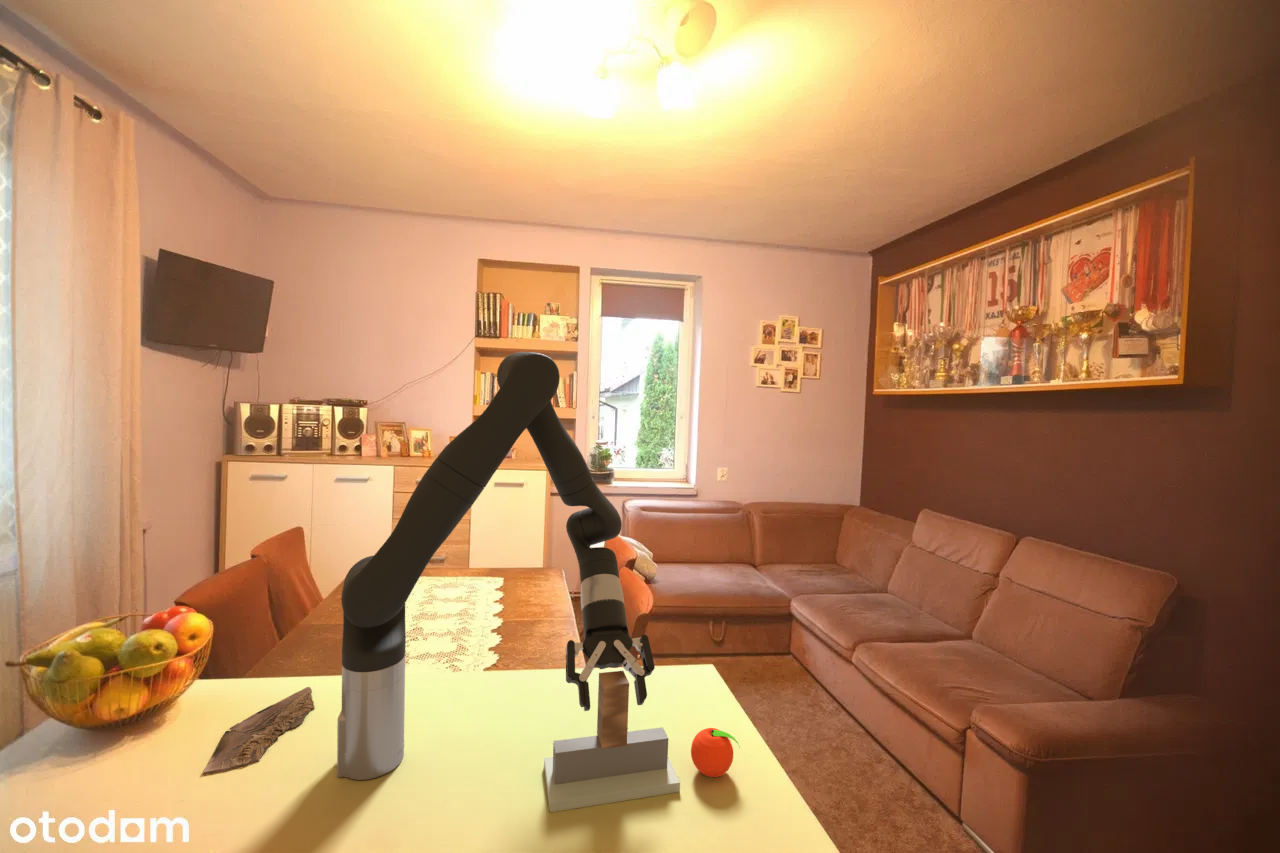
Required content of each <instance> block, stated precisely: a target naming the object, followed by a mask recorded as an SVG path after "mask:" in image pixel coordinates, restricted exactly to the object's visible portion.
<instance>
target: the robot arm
mask: <svg viewBox="0 0 1280 853" xmlns="http://www.w3.org/2000/svg"><path fill="white" fill-rule="evenodd" d="M560 378H561V377H560V371H559V368H558V366H557V364H556V362H555V360H553V359H552V358H551V357H550V356H548V355H545V354H543V353H539V352H535V351H534V352H532V351H530V352H527V351H518V352H514V353H511V354H509V355H507V356H506V357H505V358H504V359H502V361H501V362H500V364H499V365H498V368H497V372H496V380H497V384H498V387H499V389H498V390H497V392H496V393H495V394H494V397H493V398H492V399H491V401H490V403H489V404H488V406H487V407H486V409H484V410H483V412H482V413H481V414H480V415H479V416H478V417H477V419H476V418H475V420H474V421H473V422H471V424H469V425H468V426H467V427H465V429H463V430H462V431H461V432H460V433H459V434H457V435H456V436H455V437H454V438H453V439H452V440H451V441H450V442H449V443H448V444H447V445H446V446H445V447H444V448H443V450H441V452H440V453H439V454H438V455H437V457H436V458H435V459H434V461H433V462H432V463H431V465H430V466H429V467H428V469H427V470H426V472H424V474H423V476H422V477H421V479H420V481H419V482H418V484H417V485H416V487H415V489H414V491H412V494H411V496H410V498H409V499H408V501H407V503H406V505H405V507H404V509H403V511H402V514H401V515H400V517H399V519H398V521H397V524H396V525H395V527H394V529H393V531H392V532H391V533H390V535H389V536H388V537H387V539H386V540H385V541H384V543H383V544H382V546H380V547H379V549H378V550H377V551H376V552H375V553H374V555H370V556H366V557H364V558H362V559H360V560H359V561H357V562H356V563H354V564H353V565H352V567H350V569H349V570H348V572H347V574H345V575H346V576H345V578H344V580H343V586H342V590H341V598H340V601H341V608H342V611H343V617H342V618H343V626H342V627H343V628H342V629H343V630H342V641H341V642H342V643H341V644H342V645H341V710H340V712H339V715H338V716H337V726H336V728H337V730H336V731H337V735H336V736H337V740H336V742H337V744H336V745H337V746H336V747H337V749H336V750H337V752H336V753H337V754H336V755H337V756H336V759H337V760H336V762H337V763H336V764H337V765H336V777H338V778H341V777H345V778H349V779H351V780H356V781H357V780H358V781H365V780H371V779H375V778H378V777H381V776H384V775H386V774H388V773H390V772H391V771H393V770H394V769H396V768H397V767H398V766H399V765H400V764H401V763H402V761H403V759H404V756H405V754H404V753H405V710H406V709H405V707H406V706H405V705H406V703H405V702H406V701H405V699H406V698H405V695H406V693H405V692H406V642H407V641H406V603H407V600H408V598H409V597H410V595H411V593H412V591H413V589H414V587H415V586H416V584H417V583H418V581H419V579H420V578H421V576H422V574H423V572H424V570H425V569H426V567H427V565H428V564H429V562H431V559H432V558H433V556H434V555H435V553H436V552H437V551H438V550H439V548H440V547H441V546H442V545H443V543H444V542H445V541H446V540H447V539H448V537H449V536H450V535H451V533H453V531H454V530H455V529H456V527H458V526H457V525H459V523H460V522H461V520H462V519H463V518H464V517H465V515H466V514H467V513H468V511H470V509H471V507H472V506H473V505H474V503H475V502H476V501H477V500H478V499H479V498H478V497H479V496H480V495H481V494H482V492H483V491H484V489H485V488H486V486H488V483H489V482H490V481H491V479H492V477H494V474H495V473H496V471H497V470H498V468H499V467H500V465H502V463H503V461H504V460H505V459H506V457H507V455H508V454H509V453H510V451H511V449H512V448H513V447H514V445H515V443H516V441H517V440H518V439H519V438H520V436H522V434H523V433H524V431H526V430H527V432H528V433H529V435H530V437H531V439H532V441H533V443H534V445H535V446H536V448H537V451H538V453H539V454H540V456H541V458H542V461H543V463H544V465H545V467H546V469H547V471H548V474H549V476H550V478H551V481H552V482H553V484H554V487H555V489H556V491H557V493H558V495H559V497H560V499H561V501H562V502H563V504H564V505H566V506H568V507H587V508H584V509H581V510H578V511H576V512H573V513H571V514H570V515H569V516H568V518H567V521H566V525H565V528H566V533H567V536H568V539H569V540H570V543H571V544H572V547H573V550H574V553H575V555H576V560H577V563H578V568H579V578H580V610H581V618H582V628H583V642H582V641H581V642H575V641H574V640H572V639H569V640H568V641H567V643H566V646H565V681H566V683H568V684H574V685H576V686H577V689H578V702H579V703H578V704H579V706H580V708H583V711H584V712H588V711H590V710H591V699H590V698H591V697H590V687H589V681H588V679H589V677H590V676H591V674H592V673H593V670H595V668H598V669H599V670H604V669H608V668H611V669H612V668H614V669H616V668H619V667H620V666H621V667H622V668H623V669H624V670H625V671H626V672H628V673H629V675H631V676H632V677H633V678H634V681H633V684H634V691H635V698H636V699H635V700H636V704H637V706H642V705H643V704H644V703H645V701H646V699H647V696H648V691H647V684H646V679H645V678H646V677H648V676H651V675H652V673H653V672H654V670H655V668H656V667H655V662H654V658H653V652H652V649H651V644H650V639H649V636H648V635H647V634H642V635H641V636H640V637H634V638H632V637H631V635H630V632H629V628H628V627H629V626H628V618H627V612H626V606H625V599H624V592H623V587H622V584H621V580H620V574H619V573H620V572H619V566H618V560H617V556H616V553H615V552H614V551H613V550H612V549H611V548H609V547H591V546H593V545H597V544H600V543H603V542H606V541H609V540H612V539H615V538H617V537H618V536H619V534H620V533H621V530H622V519H621V516H620V513H619V511H618V510H617V509H616V508H615V506H614V505H613V503H612V502H611V501H610V500H609V499H608V498H607V497H606V496H605V495H604V493H603V492H602V490H600V488H599V487H598V485H597V484H596V482H595V480H594V478H593V475H592V473H591V471H590V469H589V467H588V465H587V462H586V460H585V458H584V456H583V454H582V452H581V450H580V449H579V447H578V446H577V444H576V442H575V441H574V440H573V437H571V435H570V434H569V433H568V431H567V430H566V428H565V427H564V425H563V423H562V421H561V420H560V418H559V416H558V414H557V412H556V411H555V408H554V406H553V403H552V401H551V400H552V399H553V397H554V396H555V395H556V393H557V391H558V388H559V385H560ZM632 647H635V650H636V651H637V652H640V657H641V662H642V665H640V664H639V663H638V661H637V659H636V657H634V656H633V654H632V653H631V652H630V650H631V649H632ZM581 651H582V652H583V654H584V655H585V656H586V657H587V659H588V661H587V662H586V664H585V666H584V667H583V669H582V671H581V672H580V673H579V672H576V658H577V657H578V656H579V654H580V652H581Z"/></svg>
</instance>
